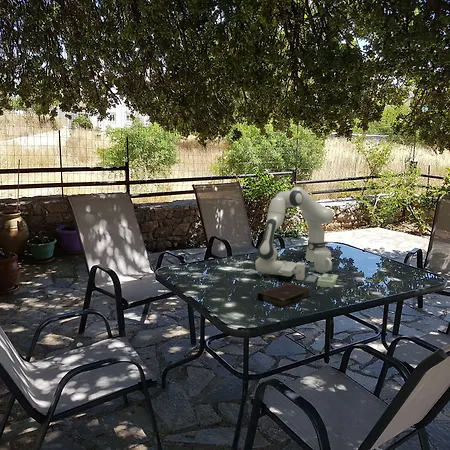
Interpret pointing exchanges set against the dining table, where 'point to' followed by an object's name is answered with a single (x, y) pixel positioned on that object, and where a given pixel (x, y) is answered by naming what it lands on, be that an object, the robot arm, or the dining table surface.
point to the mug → (322, 261)
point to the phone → (311, 279)
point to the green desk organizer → (327, 280)
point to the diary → (284, 294)
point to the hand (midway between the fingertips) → (301, 270)
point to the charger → (301, 267)
